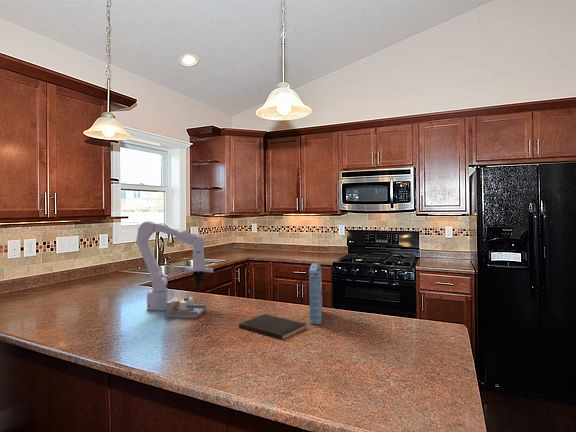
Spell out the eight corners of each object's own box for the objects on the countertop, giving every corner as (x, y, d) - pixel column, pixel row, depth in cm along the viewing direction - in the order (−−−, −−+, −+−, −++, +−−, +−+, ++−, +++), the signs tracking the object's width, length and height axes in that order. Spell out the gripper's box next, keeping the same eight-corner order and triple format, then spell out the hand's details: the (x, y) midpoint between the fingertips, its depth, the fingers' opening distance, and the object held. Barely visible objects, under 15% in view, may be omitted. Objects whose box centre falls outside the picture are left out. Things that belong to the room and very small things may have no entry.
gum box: (321, 324, 147) (320, 270, 146) (308, 324, 147) (308, 270, 147) (322, 311, 166) (322, 263, 165) (311, 310, 167) (311, 263, 166)
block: (173, 311, 163) (173, 301, 162) (177, 308, 168) (177, 298, 167) (181, 312, 162) (181, 301, 162) (185, 309, 167) (185, 298, 167)
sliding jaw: (179, 312, 160) (179, 300, 160) (187, 307, 169) (187, 295, 169) (186, 312, 160) (185, 300, 160) (193, 307, 169) (193, 295, 169)
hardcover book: (264, 318, 157) (264, 313, 157) (306, 329, 143) (306, 323, 143) (238, 328, 144) (238, 323, 144) (282, 341, 130) (282, 335, 130)
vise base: (165, 317, 159) (164, 303, 159) (176, 309, 171) (175, 296, 171) (196, 318, 158) (196, 303, 158) (205, 310, 170) (205, 297, 170)
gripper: (181, 261, 175) (182, 287, 175) (209, 261, 173) (210, 288, 173) (187, 258, 182) (187, 284, 182) (214, 259, 180) (214, 285, 180)
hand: (199, 286), depth 178 cm, fingers closed
